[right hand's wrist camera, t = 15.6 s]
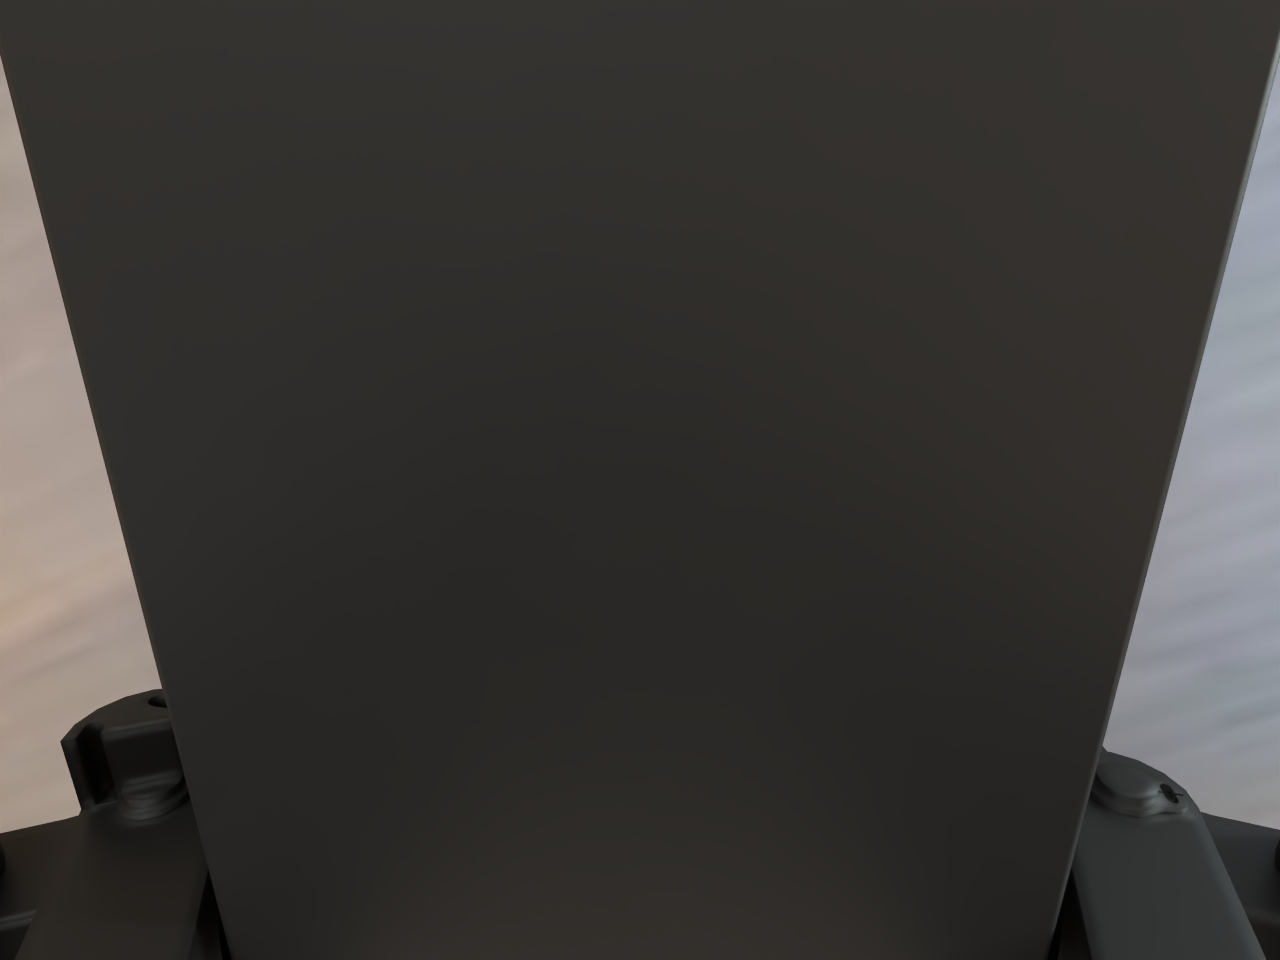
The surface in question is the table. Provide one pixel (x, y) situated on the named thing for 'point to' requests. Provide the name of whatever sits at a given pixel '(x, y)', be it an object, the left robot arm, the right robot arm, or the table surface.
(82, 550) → the table surface
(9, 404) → the table surface
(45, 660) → the table surface
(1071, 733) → the box
